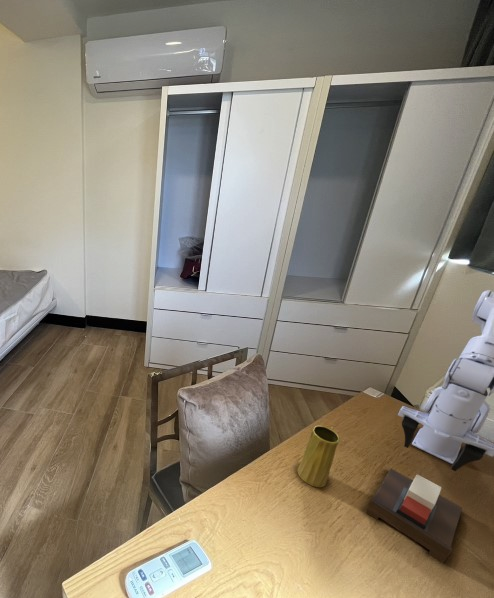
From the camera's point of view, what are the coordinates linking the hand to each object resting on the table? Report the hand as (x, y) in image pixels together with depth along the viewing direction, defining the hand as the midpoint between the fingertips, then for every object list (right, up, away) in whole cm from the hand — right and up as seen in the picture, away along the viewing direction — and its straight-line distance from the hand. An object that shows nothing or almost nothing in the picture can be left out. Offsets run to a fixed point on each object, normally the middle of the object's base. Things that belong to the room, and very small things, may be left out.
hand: (429, 456), depth 71 cm
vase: (-23, -8, +6) cm, 25 cm away
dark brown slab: (-7, -11, -3) cm, 13 cm away
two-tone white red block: (-7, -9, -4) cm, 12 cm away
